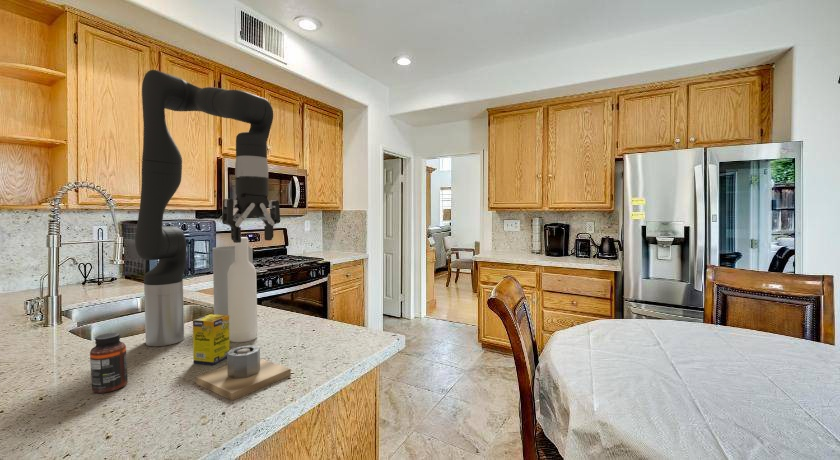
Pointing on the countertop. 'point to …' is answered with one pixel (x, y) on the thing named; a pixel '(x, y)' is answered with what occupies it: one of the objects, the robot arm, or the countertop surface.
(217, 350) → the supplement box
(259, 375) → the shaft stand
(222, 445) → the countertop surface
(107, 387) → the supplement bottle
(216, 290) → the cylinder vase
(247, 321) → the bottle
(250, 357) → the ring
